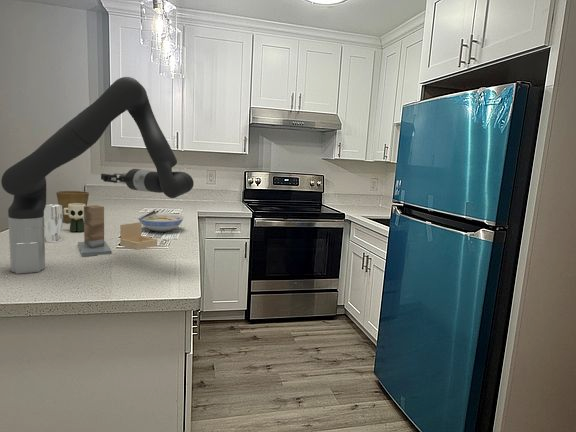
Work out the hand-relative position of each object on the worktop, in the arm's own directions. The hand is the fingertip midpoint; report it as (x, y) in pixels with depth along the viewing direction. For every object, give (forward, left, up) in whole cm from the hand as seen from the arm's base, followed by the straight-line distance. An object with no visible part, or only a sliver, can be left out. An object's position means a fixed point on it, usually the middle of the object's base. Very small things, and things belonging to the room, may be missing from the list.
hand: (112, 176), depth 138 cm
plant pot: (+73, +8, -30) cm, 79 cm away
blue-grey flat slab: (+10, +5, -30) cm, 32 cm away
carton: (+9, -12, -30) cm, 34 cm away
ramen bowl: (+41, -29, -30) cm, 58 cm away
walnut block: (+10, +5, -28) cm, 31 cm away
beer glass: (+31, +18, -30) cm, 47 cm away
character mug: (+48, +8, -30) cm, 57 cm away
